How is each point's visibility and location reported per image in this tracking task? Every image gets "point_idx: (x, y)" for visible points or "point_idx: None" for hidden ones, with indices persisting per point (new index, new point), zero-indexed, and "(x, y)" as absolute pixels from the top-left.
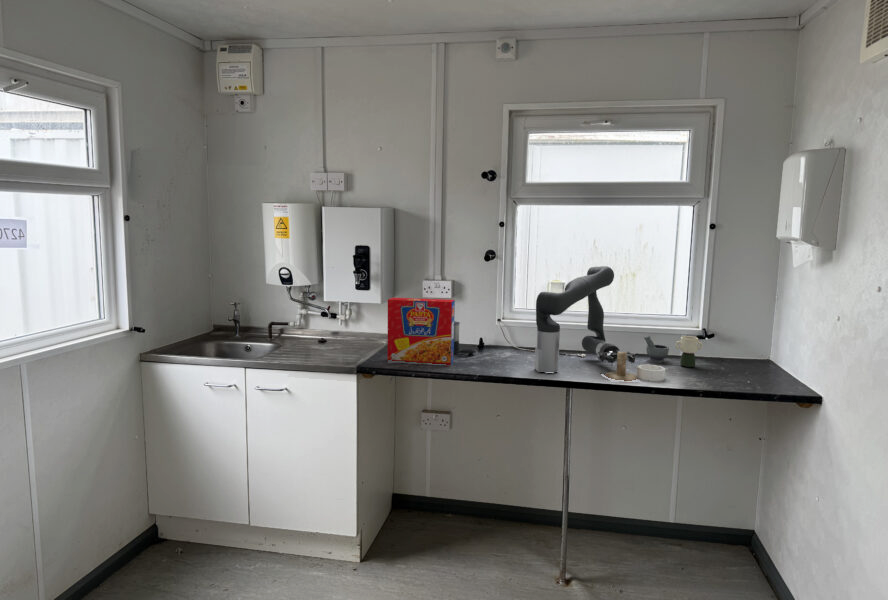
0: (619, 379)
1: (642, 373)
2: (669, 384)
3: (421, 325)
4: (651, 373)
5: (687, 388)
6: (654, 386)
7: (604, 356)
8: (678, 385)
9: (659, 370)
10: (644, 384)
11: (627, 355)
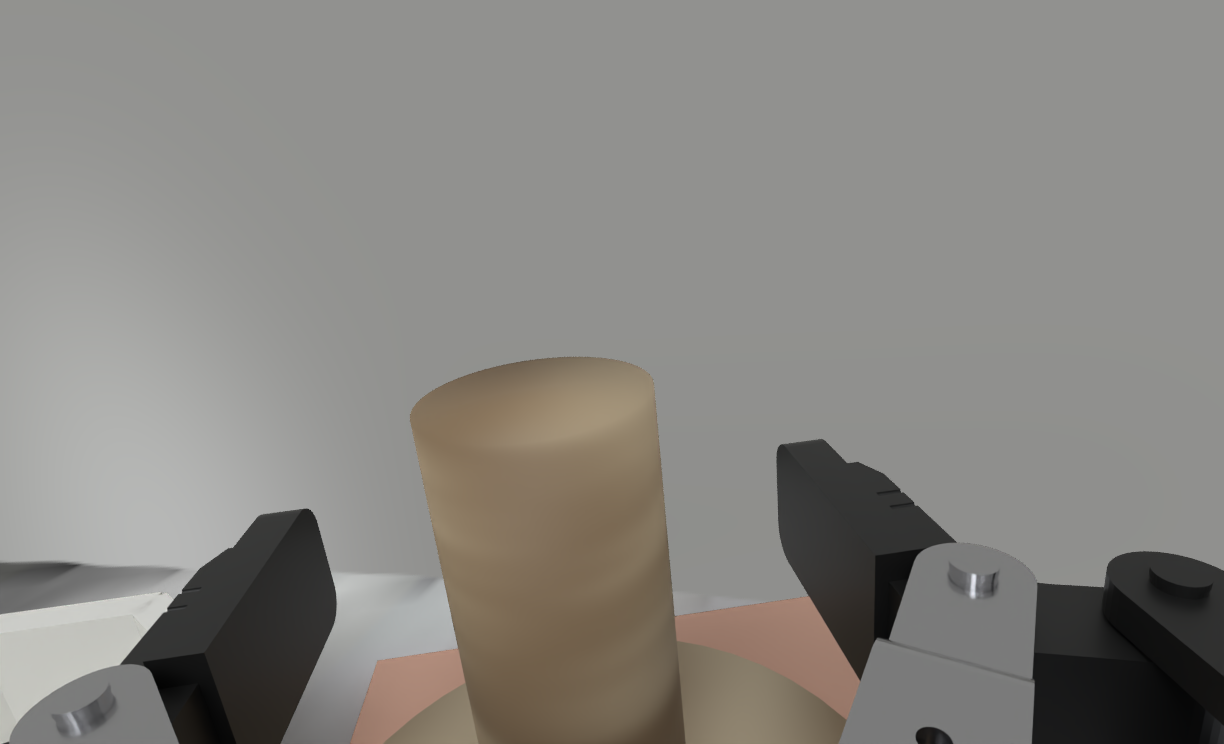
0: (693, 651)
1: None
2: None
3: None
4: None
5: (70, 579)
6: (347, 586)
7: (1081, 596)
8: None
9: (17, 619)
10: (406, 629)
11: (171, 736)
